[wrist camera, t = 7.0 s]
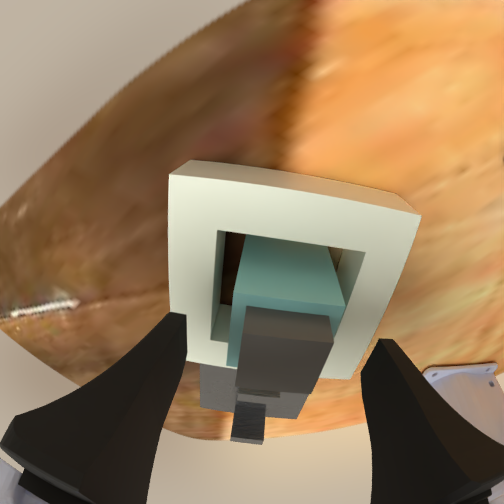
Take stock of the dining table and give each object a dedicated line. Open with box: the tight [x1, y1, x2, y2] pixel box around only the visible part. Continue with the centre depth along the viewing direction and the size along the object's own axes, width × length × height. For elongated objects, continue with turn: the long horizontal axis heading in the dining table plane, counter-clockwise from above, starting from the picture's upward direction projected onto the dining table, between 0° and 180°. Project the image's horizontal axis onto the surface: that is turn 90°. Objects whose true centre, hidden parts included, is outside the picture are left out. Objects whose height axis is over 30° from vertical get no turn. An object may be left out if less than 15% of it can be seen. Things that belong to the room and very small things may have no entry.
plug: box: [226, 234, 346, 394], centre depth 13 cm, size 4×4×7 cm
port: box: [168, 160, 422, 379], centre depth 14 cm, size 10×10×3 cm
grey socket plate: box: [200, 363, 309, 445], centre depth 19 cm, size 8×8×4 cm
